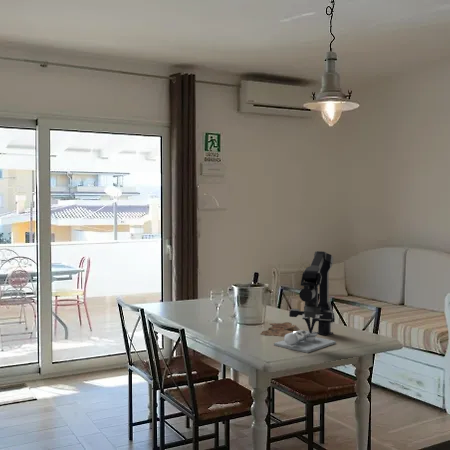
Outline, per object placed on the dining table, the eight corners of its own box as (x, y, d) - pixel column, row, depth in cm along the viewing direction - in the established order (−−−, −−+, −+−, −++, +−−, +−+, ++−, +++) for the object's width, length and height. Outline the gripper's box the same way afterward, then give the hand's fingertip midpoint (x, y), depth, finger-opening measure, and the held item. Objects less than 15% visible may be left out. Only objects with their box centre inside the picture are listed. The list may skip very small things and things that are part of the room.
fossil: (283, 339, 263) (283, 329, 263) (255, 334, 273) (255, 325, 272) (303, 331, 279) (303, 322, 279) (276, 327, 288) (276, 318, 288)
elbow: (306, 336, 262) (306, 325, 262) (320, 339, 256) (320, 328, 256) (287, 341, 251) (287, 330, 251) (301, 344, 246) (301, 333, 246)
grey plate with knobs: (303, 336, 267) (303, 323, 267) (335, 343, 255) (335, 329, 255) (273, 345, 250) (274, 330, 250) (307, 352, 238) (307, 337, 238)
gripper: (288, 300, 240) (287, 335, 241) (332, 302, 236) (331, 338, 237) (290, 295, 251) (290, 330, 252) (332, 297, 247) (332, 332, 248)
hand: (310, 332), depth 247 cm, fingers closed
